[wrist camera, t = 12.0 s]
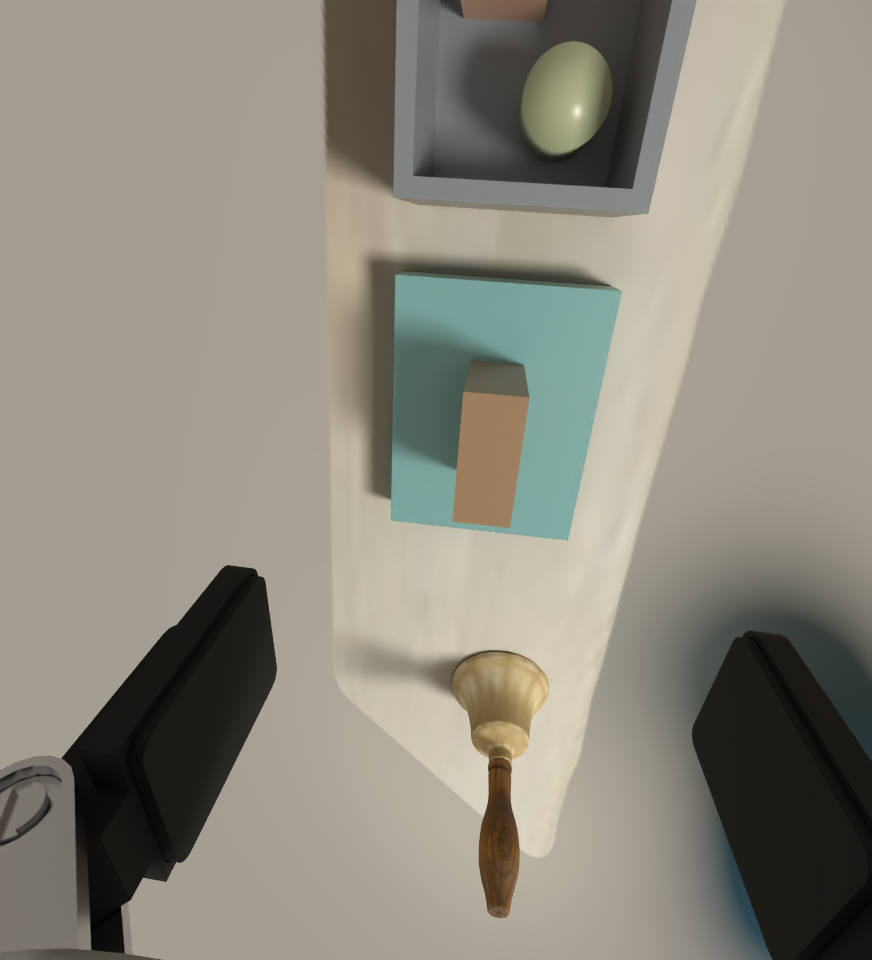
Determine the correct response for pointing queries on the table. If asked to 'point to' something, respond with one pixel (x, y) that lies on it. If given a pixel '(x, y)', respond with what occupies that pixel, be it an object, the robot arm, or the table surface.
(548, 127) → the box
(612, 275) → the table surface
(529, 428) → the lid
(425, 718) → the table surface
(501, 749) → the hand bell
